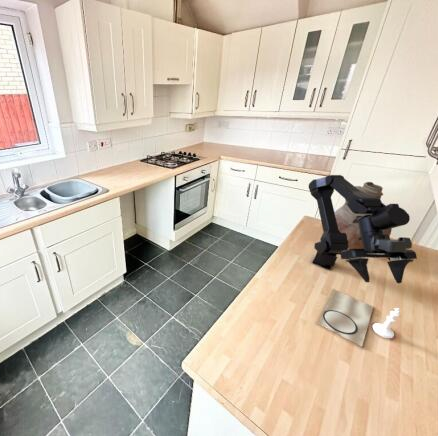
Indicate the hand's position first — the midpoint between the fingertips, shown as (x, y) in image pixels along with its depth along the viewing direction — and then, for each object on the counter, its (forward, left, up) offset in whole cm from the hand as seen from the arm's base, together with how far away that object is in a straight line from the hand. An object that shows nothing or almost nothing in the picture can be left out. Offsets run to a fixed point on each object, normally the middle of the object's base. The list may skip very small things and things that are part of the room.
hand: (383, 282), depth 74 cm
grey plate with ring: (-4, -6, -13) cm, 15 cm away
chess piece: (+5, -5, -13) cm, 15 cm away
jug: (-12, +43, -13) cm, 46 cm away
